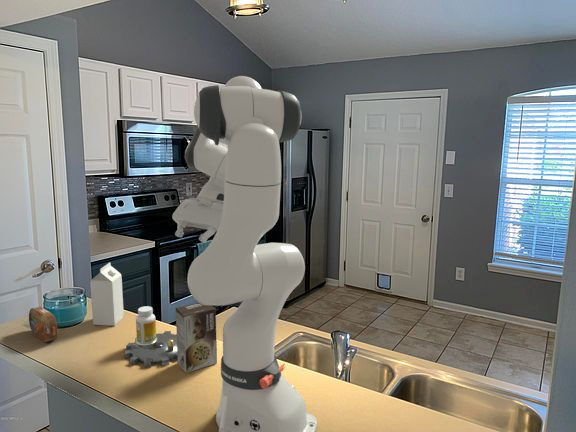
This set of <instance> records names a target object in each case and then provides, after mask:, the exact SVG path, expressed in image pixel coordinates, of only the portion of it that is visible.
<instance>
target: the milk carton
mask: <svg viewBox="0 0 576 432" xmlns="http://www.w3.org/2000/svg"><path fill="white" fill-rule="evenodd" d="M122 277H123V276H122V274H121V272H119V271H118V270H117V269H116V268H115V267H113V266H112V265H111V262H108V263H107V264H105V265H104V266H103V267H101V268H99V273H98V274H97V275H95V276H94V277H93V278H92V279H91V280H90V281H89V285H90V299H91V313H92V325H94V326H107V327H108V326H110V327H111V326H112V327H113V326H116V325H117V324H118V323H120V321H121V320H123V318H124V317H125V314H124V297H123V279H122Z"/></svg>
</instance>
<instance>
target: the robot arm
mask: <svg viewBox="0 0 576 432" xmlns="http://www.w3.org/2000/svg"><path fill="white" fill-rule="evenodd" d="M300 103H301V102H300V101H299V99H298V98H297V97H296V96H295V95H294V94H293V93H290V92H287V91H283V90H278V91H276V90H272V89H267V88H265V89H264V88H262V86H261V85H260V84H259V82H257V80H255V79H253V78H252V77H249V76H247V75H245V76H244V75H238V76H235V77H232V78H230V79H229V80H228V81H227V82H226V83H225V85H224V86H219V85H218V84H217V85H208V86H205V87H202V89H200V90H199V92H198V95H197V98H196V100H195V102H194V108H193V115H194V116H193V117H194V121H195V122H196V129H195V131H194V133H193V135H192V138H191V140H190V141H189V143H188V145H187V146H186V149H185V150H184V151H185V152H184V156H183V157H184V160H185V162H186V165H187V166H188V167H189V168H192V169H194V170H197V171H199V172H201V173H203V174H205V175H207V176H209V180H208V181H207V182H206V183H204V185H203V186H202V189H201V190H200V192H199V193H198V195H197V196H196V197H189V198H187V199H185V200H183V201H182V202H181V203H180V204H179V205H178V206H177V208H176V209H175V211H174V212H173V213H172V217H171V218H172V220H173V221H174V222H175V223H176V224H177V230H176V231H175V232H174V235H175V237H178V238H183V236H184V234H185V232H184V229H186V227H192V228H199V229H203V230H206V231H205V232H204V233H200V236H199V237H198V240H199V241H200V242H202V243H207V241H208V239H209V238H210V237H212V236H213V235H214V236H213V239H212V240H211V242H210V243H209V244H208V246H207V247H206V248H205V249H204V251H203V252H201V253H200V254H199V255H198V256H197V257H196V258H194V260H193V261H192V262H191V264H190V266H189V269H188V272H187V279H186V280H187V286H188V290H189V292H190V294H191V296H192V297H193V298H194V299H195V300H196V302H197V303H200V304H202V305H212V306H228V305H233V304H237V303H240V305H238V307H237V308H236V310H234V311H233V312H232V313H231V314H230V315H229V316H228V317H227V318H226V320H225V322H224V324H223V327H222V356H221V358H220V359H221V360H220V376H221V379H222V383H221V393H220V398H219V405H218V407H217V410H216V413H215V414H216V415H215V421H216V424H217V427H218V432H316V431H317V427H318V423H317V418H316V416H314V415H313V414H311V413H309V412H307V404H306V400H305V399H304V397H303V395H301V393H299V392H298V390H296V387H295V386H294V385H293V384H291V383H290V382H289V381H288V380H287V379H286V378H285V377H284V376H283V375H282V372H283V371H284V370H285V368H286V367H285V363H282V364H281V365H280V366H279V363H278V360H277V357H276V354H275V346H276V345H275V343H276V342H275V341H276V340H275V339H276V329H277V323H278V320H279V317H280V314H281V311H282V309H283V307H284V305H285V303H286V301H287V299H288V298H289V296H290V294H291V293H292V292H293V290H295V289H296V288H297V287H298V286H299V285H300V284H301V282H302V281H303V279H304V275H305V271H306V265H305V260H304V257H303V255H302V252H301V251H300V250H299V249H298V247H297V246H295V245H294V244H292V243H284V242H268V243H267V242H265V243H260V244H259V241H260V240H261V238H262V237H263V236H264V235H265V234H266V233H267V232H269V231H270V230H272V229H273V228H274V226H275V225H276V223H277V222H278V220H279V216H280V205H281V204H280V203H281V202H280V201H281V187H282V184H281V183H282V159H281V158H282V156H281V149H280V148H281V147H280V143H284V142H288V141H291V140H294V138H295V137H296V136H297V135H298V133H299V130H300V126H301V124H302V109H301V104H300ZM222 144H224V145H227V147H226V146H224V145H222Z"/></svg>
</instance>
